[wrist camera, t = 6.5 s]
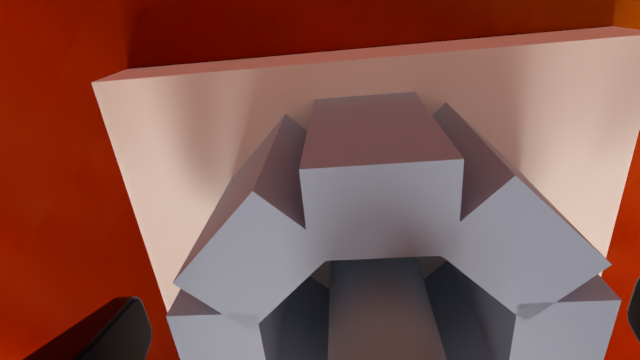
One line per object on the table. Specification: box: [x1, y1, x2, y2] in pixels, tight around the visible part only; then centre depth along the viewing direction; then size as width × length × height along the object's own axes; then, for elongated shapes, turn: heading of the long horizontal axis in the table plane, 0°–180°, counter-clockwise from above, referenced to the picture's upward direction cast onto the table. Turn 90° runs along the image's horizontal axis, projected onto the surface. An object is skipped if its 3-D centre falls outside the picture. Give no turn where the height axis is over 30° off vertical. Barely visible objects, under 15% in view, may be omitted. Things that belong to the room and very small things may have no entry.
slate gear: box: [166, 92, 621, 360], centre depth 8 cm, size 7×7×4 cm
